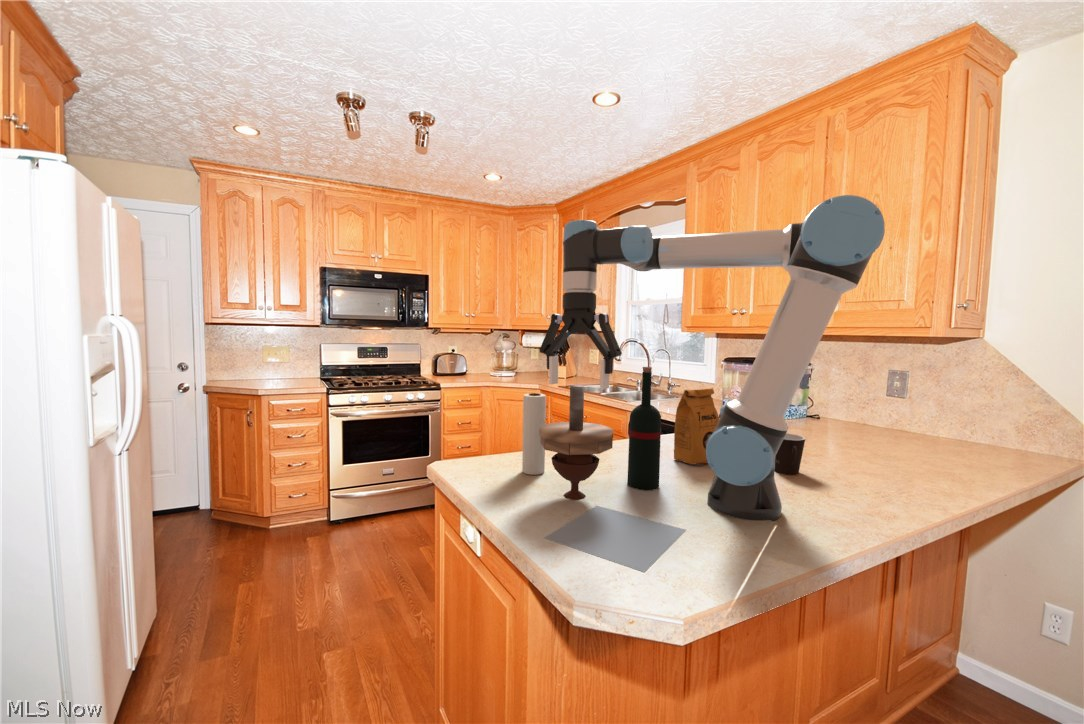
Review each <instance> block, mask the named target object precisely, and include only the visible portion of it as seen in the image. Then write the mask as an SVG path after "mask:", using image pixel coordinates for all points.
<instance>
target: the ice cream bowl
mask: <svg viewBox="0 0 1084 724" xmlns="http://www.w3.org/2000/svg"><path fill="white" fill-rule="evenodd" d="M551 464H552V466H553V468H554V470H555V471H556V472H557V473H558V474H559V475H560V476H561V477H562V478H563V479H565V480H566V481H569V483H570V490H568V491H566V492H565V493H564V494H563V495H562V496H563V497H564V498H565V499H567V500H570V501H580V500H584V499H585V498H586V497H587V495H585V494H584V493H583V492H582V491H580V490H579V489H580V488H579V486H580V485H579V484H580V482H583V481H586V480H587V479H589V478H590V477H591V476H592V475H593V474H594V473H595V472H596V470H597V468H598V466H599V464H600V458H599V457H598V456H596V454H582V455H570V454H569V455H568V454H563V453H558V452H556V453H555V454H554V455H552V457H551Z"/></svg>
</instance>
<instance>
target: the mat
mask: <svg viewBox="0 0 1084 724" xmlns="http://www.w3.org/2000/svg"><path fill="white" fill-rule="evenodd" d="M686 531H687V529H684V528H680V527H679V526H678V527H677V526H673V525H670V524H667V523H663V522H659V521H656V520H651V519H648V518H644V517H641V516H637V515H634V514H633V515H632V514H630V513H626V512H622V511H619V510H615V509H611V508H608V507H605V506H604V507H603V506H600V505H595V506H594V507H592V508H590V509H588V510H587V511H586V512H584V513H582V514H580V515H579V516H577V517H575V518H574V519H572V520H571V521H569V522H568V523H566V524H564V525H562V526H561V527H560V528H558V529H556V530H554V531H553V532H551V533H549V534H548V535H546V536H544V538H543V539H546V540H548V541H551V542H554V543H557V544H560V545H563V546H566V547H569V548H572V549H575V550H578V551H581V552H583V553H587V554H589V555H592V556H595V557H597V558H601V559H604V560H606V561H609V562H613V563H616V564H619V565H622V566H624V567H628V568H630V569H633V570H635V571H639V572H642V573H646V571H648V570H649V568H650V567H652V565H653V564H654V563H655V562H657V560H658V559H659V558H661V556H662V555H663V554H664V553H665V552H667V551H668V549H669V548H670V547H671V546H672V545H673V544H674V543H675V542H677V540H678V539H679V538H680V537H681V536H682V535H683V534H684V533H685V532H686Z"/></svg>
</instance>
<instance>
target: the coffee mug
mask: <svg viewBox="0 0 1084 724" xmlns="http://www.w3.org/2000/svg"><path fill="white" fill-rule="evenodd" d="M805 441H806V437H804V436H802V435H799V434H793V433H789V432H788V433H786V435H785V437H784V439H783V441H782V443H781V445H780V447H779V450H778V452H777V454H776V456H775V471H774V473H777V474H781V475H786V476H797V475H799V472H800V467H801V463H802V457H803V452H804V447H805V443H806V442H805Z"/></svg>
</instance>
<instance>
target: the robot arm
mask: <svg viewBox="0 0 1084 724" xmlns="http://www.w3.org/2000/svg"><path fill="white" fill-rule="evenodd" d="M885 225H886V224H885V219H884V215H883V214H882V211H881V210H880V209H879V207H878V206H877V205H876V204H875V203H874V202H872V201H871V200H869V199H867V198H865V197H862V196H859V195H854V194H845V195H837V196H833V197H830V198H829V199H826V200H824V201H821V203H819V204H818V205H816V206H815V207H814V208H813V209H812V210H811V211H810V212H809V213H808V214H807V215H806V217H805V218H804V220H803V222H800V223H799V222H798V223H790V224H789V225H787V227H785V228H784V229H765V230H747V231H731V232H729V231H728V232H716V233H715V232H713V233H710V232H709V233H695V234H694V233H693V234H675V235H662V236H655V235H654V236H653V233H652V230H651V228H650V227H649V226H648V225H630V226H629V225H628V226H622V227H621V226H620V227H611V228H602V229H601V228H598V223H597V222H596V221H594V220H590V219H575V220H570V221H568V222H567V223H566V224H565V225H564V230H563V241H562V246H563V250H562V253H563V254H562V255H563V270H562V291H564V293H563V295H562V309H563V313H562V314H561V313H552V314H551V317H550V323H549V327H548V328H547V332H546V333H545V334H544V335H545V336H544V338H543V341H542V343H541V344H540V348H539V353H541V354H544V355H545V356H546V369H547V370H548V385H557V384H559V356H558V354H557V353H558V352H559V350H560V349H561V347H562V346H563V345H564V343H566V341H567V340H568V338H569V337H570V336H571V335H572V334H578V335H580V334H581V335H587V336H588V337H589V338H590V341H592V342H593V344H594V346H595V347H596V348H597V349H598V351H599V352H600V354H601V356H602V358H601V359H600V374H599V376H600V377H599V378H600V379H599V382H600V383H599V389H600V390H607V389H609V388H610V374H613V370H614V369H613V367H614V359H615V358H616V357H621V356H622V350H621V348H620V345H619V343H618V341H617V338H616V335H615V334H614V331H613V329H612V326H611V324H610V316H609V314H608V313H599V314H597V313H596V309H597V294H596V293H595V291H597V276H598V275H597V272H598V271H597V270H598V269H597V268H598V265H614V264H615V265H617V264H619V265H623V266H626V267H629V268H631V269H634V270H635V271H636V272H638V271H639V272H649V271H652V270H673V269H677V270H678V269H680V270H682V269H724V268H725V269H728V268H731V269H732V268H733V269H734V268H735V269H738V268H776V267H777V268H779V267H780V268H783V269H784V270H785V271H786V272H787V273H788V275H789V277H790V280H789V282H788V285H787V287H786V289H785V291H784V294H783V295H782V298H781V301H780V302H779V305H778V306H777V310H776V311H775V314H774V316H773V318H772V321H771V323H770V325H769V327H768V329H767V332H766V334H765V336H764V339H763V341H762V343H761V346H760V348H759V350H758V352H757V354H756V357H755V359H754V361H753V363H752V366H751V367H750V370H749V372H748V375H747V377H746V379H745V380H744V383H743V386H742V388H741V390H740V393H739V395H738V397H737V398H735V399H732V400H729V401H727V402H726V404H724V405H722V406H720V409H719V414H718V416H719V421H718V424H717V426H716V428H715V430H714V432H713V433H712V435H711V436H710V437H709V439H708V441H707V444H706V458H707V461H708V463H707V464H708V466H709V468H710V470H711V471H712V472H713V473H714V474H715V475H714V477H713V480H712V481H711V484H710V485H711V486H709V490H708V493H707V505H708V507H710V508H711V509H712V510H714V511H716V512H719V513H720V514H723V515H726V516H729V517H732V518H736V519H741V520H746V521H747V520H749V521H760V522H761V521H775V520H778V519H779V518H781V516H782V502H781V498H780V494H779V491H778V488H777V484H776V480H775V456H776V454H777V452H778V450H779V447H780V445H781V443H782V441H783V439H784V437H785V435H786V433H787V432H788V431H789V426H788V424H787V422H786V420H785V416H786V414H787V412H788V410H789V407H790V405H791V403H792V401H793V399H794V396H795V395H796V393H797V391H798V388H799V386H800V384H801V382H802V380H803V378H804V375H805V373H806V371H807V368H808V367H809V365H810V363H811V361H812V359H813V356H814V355H815V353H816V350H817V348H818V346H819V344H820V342H821V340H822V338H823V337H824V336H823V335H824V334H825V331H826V329H827V326H828V325H829V322H830V320H831V319H832V317H833V315H834V313H835V311H836V308H837V306H838V303H839V302H840V300H841V298H842V296H843V294H845V293H847V292H849V291H852V290H854V289H856V288H857V287H858V285H859V283H860V281H861V278H862V276H863V275H864V272H865V270H866V268H867V267H868V264H869V262H870V259H871V258H872V256H873V254H874V253H875V252H876V250H878V248H879V247H880V245H881V244H882V242H883V239H884V236H885V230H886V229H885ZM562 323H563V324H564V325H563V326H562V327H561V324H562ZM596 323H598V324H599V328H600V330H601V333H602V335H603V336H601V335H600V333H599V331H598V329H597V327H596V326H595V324H596ZM560 327H561V329H560ZM559 330H560V331H559ZM558 332H559V334H558ZM602 337H603V338H604V339H603V338H602Z"/></svg>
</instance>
